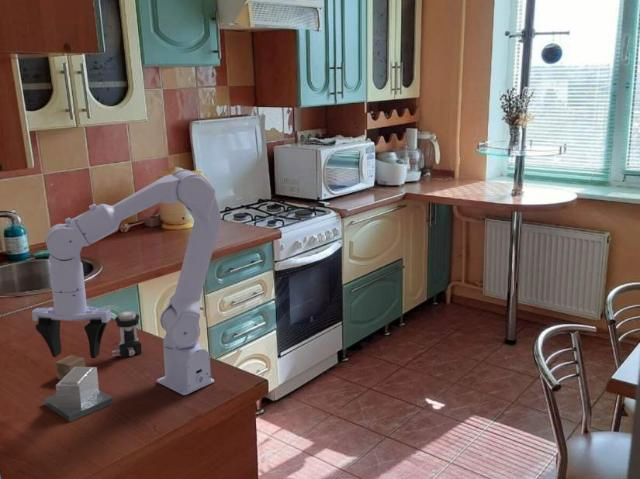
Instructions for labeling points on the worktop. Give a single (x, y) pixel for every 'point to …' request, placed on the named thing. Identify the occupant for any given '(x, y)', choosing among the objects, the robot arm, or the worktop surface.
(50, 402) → the stand
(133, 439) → the worktop surface
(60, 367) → the tan cube
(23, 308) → the worktop surface
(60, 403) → the block
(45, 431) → the worktop surface
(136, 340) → the push button
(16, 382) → the worktop surface
